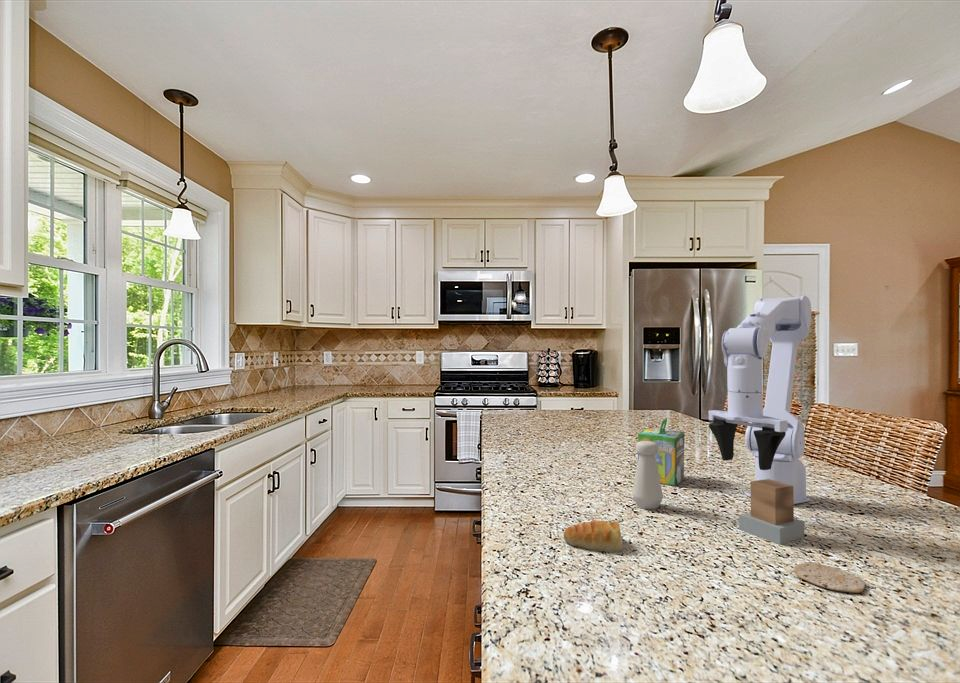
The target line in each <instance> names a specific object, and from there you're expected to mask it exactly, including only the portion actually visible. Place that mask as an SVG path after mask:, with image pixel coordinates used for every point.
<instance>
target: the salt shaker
mask: <svg viewBox="0 0 960 683" xmlns="http://www.w3.org/2000/svg"><path fill="white" fill-rule="evenodd" d="M635 444H636V445H635V452H636V454H638V453H639V460H638V459H637V466H636V471H635V477H634V482H633V486H632V492H631V493H632V497H633V499H634V500H633V501H634V502H635V505H636V506H637V507H638V508H640V509H643V510H656V509H659V508H660V505H661V503H662V501H663V498H664V497H663V496H664V495H663V490H662V484H661V483H660V478H659V473H658V467H657V462H656V457H655V455H656V454H658V445H657V444H656V443H654V442H651V441H639V442H638V441H637V442H636V443H635Z"/></svg>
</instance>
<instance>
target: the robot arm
mask: <svg viewBox="0 0 960 683" xmlns="http://www.w3.org/2000/svg"><path fill="white" fill-rule="evenodd" d="M811 322H812V303H811V300H810V298H809V297H808V296H807V295H804V294H803V295H801V296H789V297H774V298H758V300H756V302H755V304H754V308H753V311H752V312H750V313H749V315H748V316H746V317H745V318H744V319H743V320H742V321H741V322H740V323H739V324H738V325H737V327H731V328H729V329H728V330H725V331H724V332H723V334H722V337H721V351H722V354H723V361H724V366H725V367H727V369H726V370H727V371H726V374H727V377H726V378H727V379H726V380H727V383H726V384H727V410H726V411H725V410H718V409H713V410H712V409H711V410H708V421H712V423H709V424H708V428H709V430H710V431H711V432H712V434H713V436H714V438H715V440H716V442H717V445H718V449H719V451H720V455H721V459H722V461H724V462H726V461H732V460H733V459H734V455H735V454H734V450H735V449H734V448H735V446H734V445H735V444H734V443H735V435H736V431H737V427H738V425H740V426H744V427H745V426H746V429H745V434H744V435H745V436H744V441H745V447H746V448H747V450H748V451H749V452H751V455H752V456H753V457H754V481H757V480H765V479H770V480H774V481H778V482H781V483H785V484H789V485H792V486H793V491H794V505H796V504H801V503H807V502H811V498H809V497H807V473H806V472H807V470H806V467H805V465H804V463H803V462H802V460H800V458H802V457H803V455H804V453H805V446H806V442H805V441H806V439H805V426H804V424H803V422H802V420H800V419H799V418H798V417H796V416H795V414H792V412H791V407H792V399H793V397H792V396H793V389H794V379H795V373H796V372H795V370H796V364H797V355H798V354H797V353H798V349H799V345H800V343H801V342H800V341H802V340H804V339H806V338H808V337H809V332H810V330H811ZM769 341H770V342H771V345H772V346H771V354H770V360H769V369H768V378H767V383H766V391H765V400H764V396H763V395H764V393H763V392H764V391H763V388H764V387H763V383H764V382H763V380H764V379H763V358H766V355H767V353H768V352H767V351H768V346H769ZM763 401H764V402H763ZM745 496H746V497H749V498H751V491H750V492H746V493H745Z"/></svg>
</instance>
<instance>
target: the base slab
mask: <svg viewBox="0 0 960 683" xmlns="http://www.w3.org/2000/svg"><path fill="white" fill-rule="evenodd" d="M738 530H739V531H740V530H741V532H743V531H744V532H743V533H747V534H749V535H751V534H752V536H755V537H757V538H759V539H763V540H765V539H766V541H768V542H771V543H773V542H774V544H776V545H780V546H781V545H784V544H788V543H790V542H793V541H796V540H799V539H802V538H805V521H803V520H801V519H797V518H795V517H794V521H793V522H788V523H783V524H777V525H774V524H772V523H769V522H766V521H763V520H761V519H758V518H755V517H752V516H751V511H749V512H746V513H742V514H738Z"/></svg>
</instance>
